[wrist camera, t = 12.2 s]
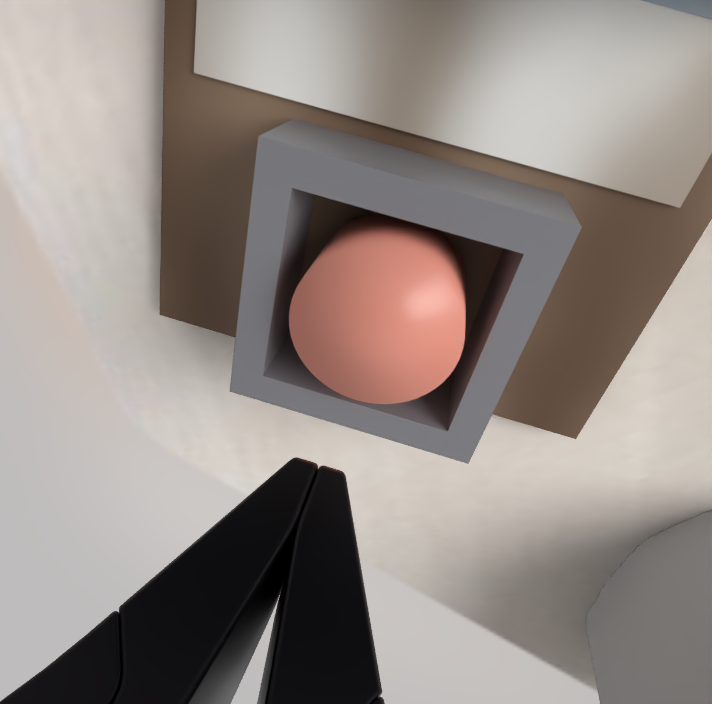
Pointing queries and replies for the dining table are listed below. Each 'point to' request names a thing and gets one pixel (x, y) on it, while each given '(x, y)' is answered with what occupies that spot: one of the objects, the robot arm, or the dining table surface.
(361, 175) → the button housing
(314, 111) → the picture frame
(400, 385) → the button
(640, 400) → the dining table surface
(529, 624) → the dining table surface
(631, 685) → the lumpy-topped squat cylinder
